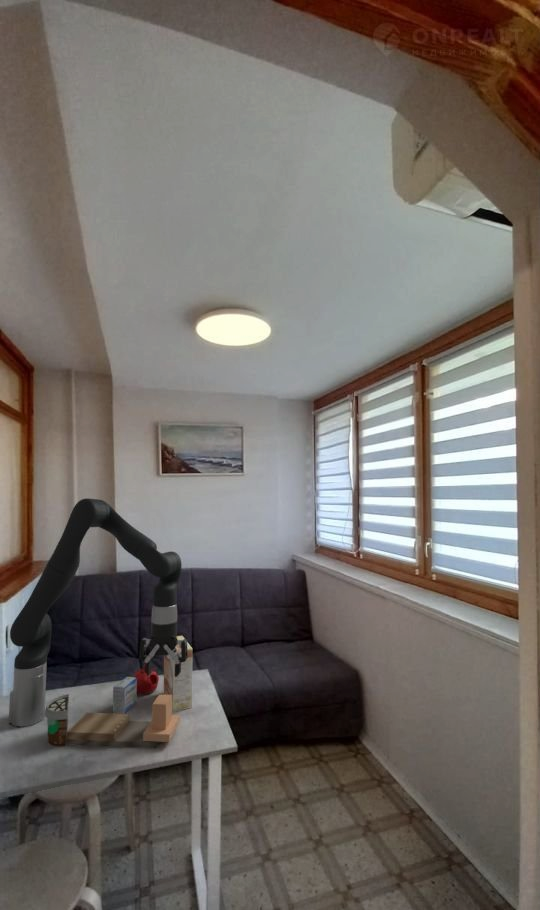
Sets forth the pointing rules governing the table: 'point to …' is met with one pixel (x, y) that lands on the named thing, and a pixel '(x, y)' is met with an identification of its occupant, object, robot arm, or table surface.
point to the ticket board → (124, 737)
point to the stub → (162, 721)
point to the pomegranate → (146, 681)
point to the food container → (57, 720)
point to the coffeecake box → (179, 680)
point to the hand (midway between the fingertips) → (162, 675)
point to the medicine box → (124, 695)
